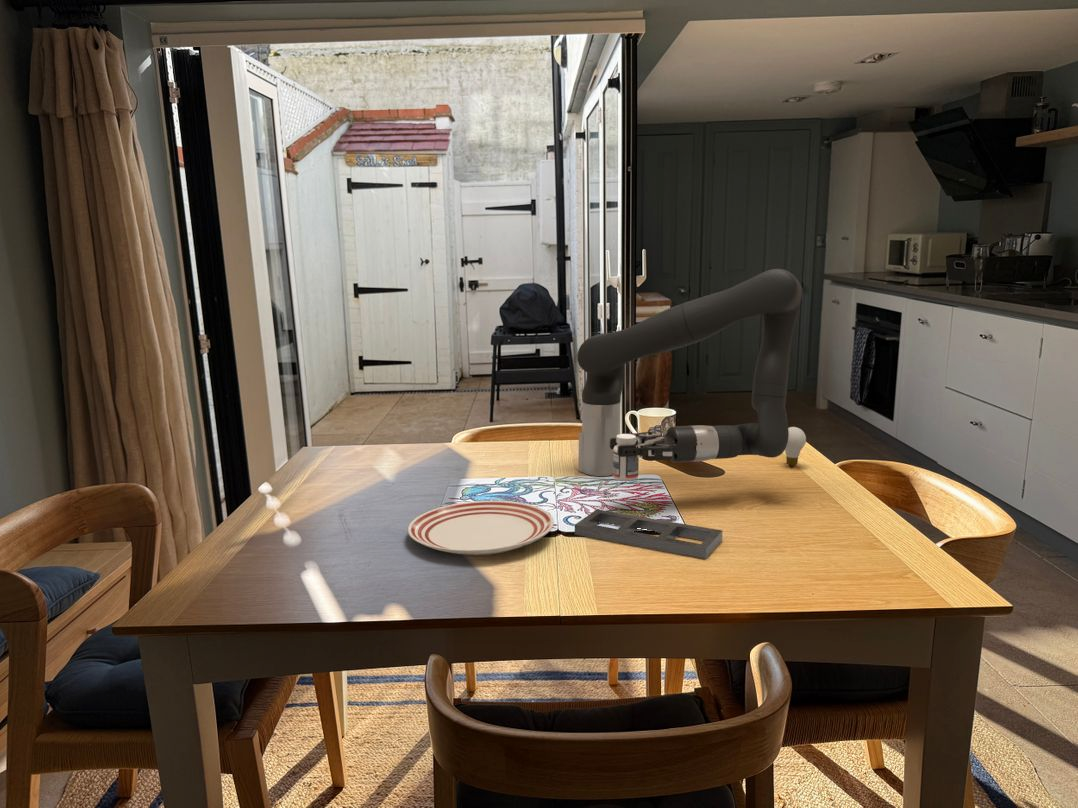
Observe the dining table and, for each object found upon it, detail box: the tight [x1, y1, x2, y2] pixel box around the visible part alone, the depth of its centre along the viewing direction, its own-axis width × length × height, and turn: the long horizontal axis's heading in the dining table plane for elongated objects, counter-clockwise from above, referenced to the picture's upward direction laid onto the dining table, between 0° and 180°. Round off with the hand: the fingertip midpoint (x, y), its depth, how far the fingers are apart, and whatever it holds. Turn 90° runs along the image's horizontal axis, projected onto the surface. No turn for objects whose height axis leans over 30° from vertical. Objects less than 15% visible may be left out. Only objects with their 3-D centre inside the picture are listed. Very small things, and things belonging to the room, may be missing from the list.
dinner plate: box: [407, 500, 555, 556], centre depth 150 cm, size 28×27×3 cm
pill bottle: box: [612, 433, 640, 482], centre depth 163 cm, size 5×5×9 cm
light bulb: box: [784, 426, 807, 468], centre depth 193 cm, size 6×6×10 cm
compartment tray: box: [574, 509, 724, 560], centre depth 149 cm, size 26×10×2 cm, turn 61°
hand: (614, 447), depth 163 cm, fingers closed on pill bottle, 5 cm apart
